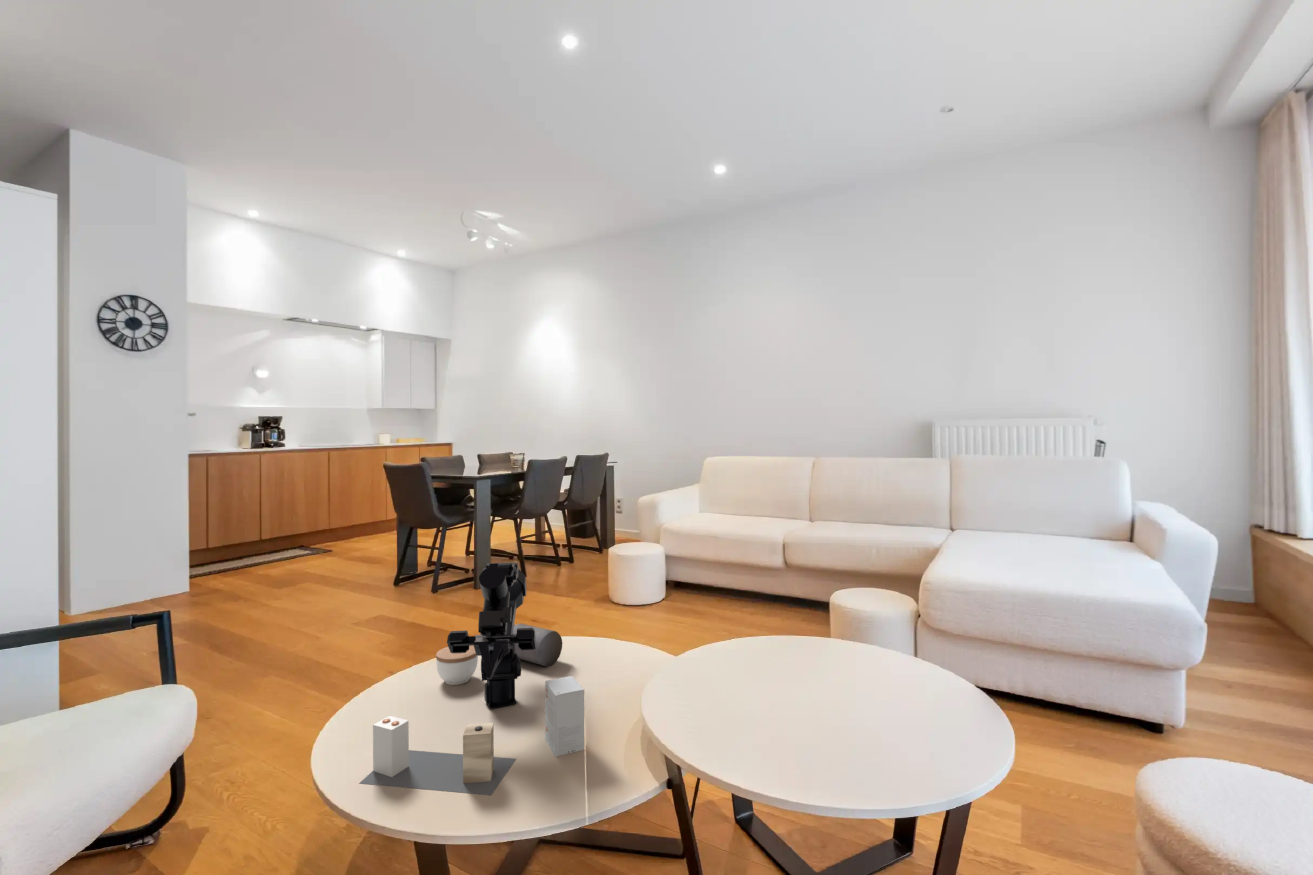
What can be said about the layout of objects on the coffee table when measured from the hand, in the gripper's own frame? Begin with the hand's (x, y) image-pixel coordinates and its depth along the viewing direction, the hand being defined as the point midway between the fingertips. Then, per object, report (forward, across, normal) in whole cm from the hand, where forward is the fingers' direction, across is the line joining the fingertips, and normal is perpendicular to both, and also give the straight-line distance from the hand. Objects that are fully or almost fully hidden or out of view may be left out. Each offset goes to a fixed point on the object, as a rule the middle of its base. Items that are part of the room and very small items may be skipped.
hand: (488, 678), depth 125 cm
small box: (+13, +16, +6) cm, 22 cm away
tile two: (+16, -17, +3) cm, 23 cm away
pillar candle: (-22, +12, +34) cm, 42 cm away
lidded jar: (-14, -13, +34) cm, 39 cm away
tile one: (+19, 0, -1) cm, 19 cm away
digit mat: (+17, -8, +2) cm, 19 cm away
